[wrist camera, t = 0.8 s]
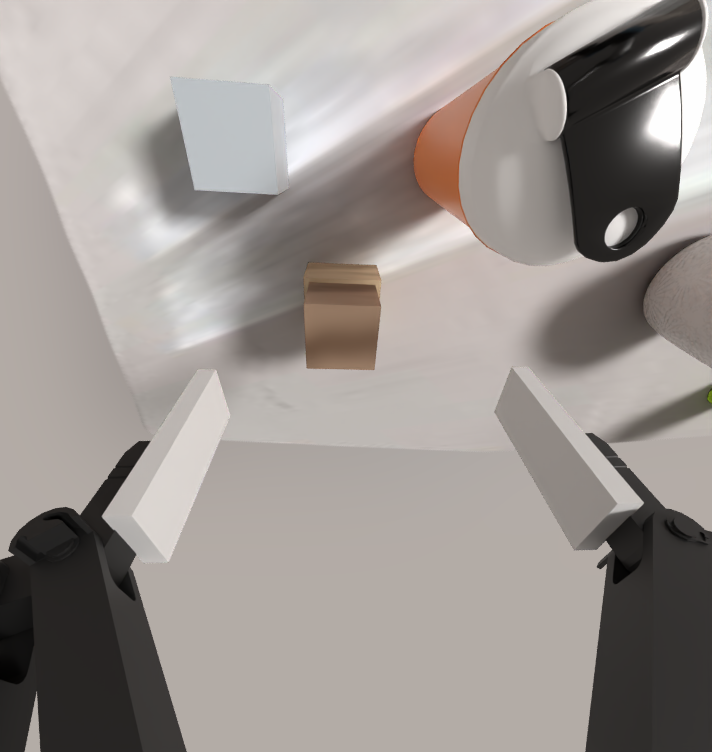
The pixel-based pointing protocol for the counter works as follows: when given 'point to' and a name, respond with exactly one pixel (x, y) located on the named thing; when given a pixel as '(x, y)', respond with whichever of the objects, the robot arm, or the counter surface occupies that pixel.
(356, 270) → the oak block
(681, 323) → the planter
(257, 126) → the grey-blue cube
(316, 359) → the walnut block
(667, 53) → the shaker bottle
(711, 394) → the soap dispenser
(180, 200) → the counter surface
